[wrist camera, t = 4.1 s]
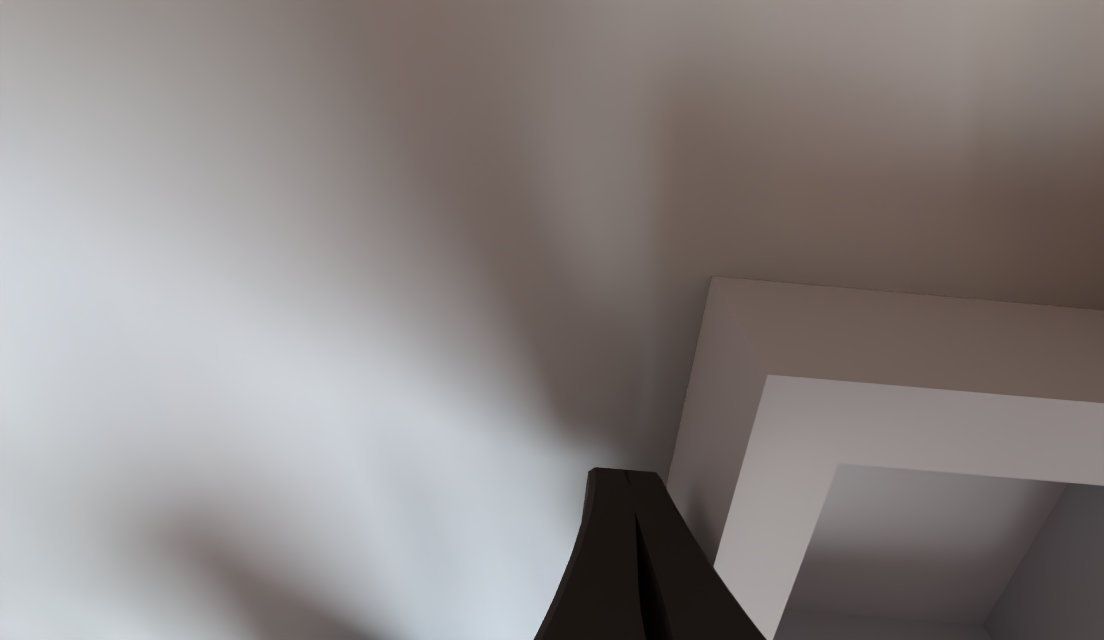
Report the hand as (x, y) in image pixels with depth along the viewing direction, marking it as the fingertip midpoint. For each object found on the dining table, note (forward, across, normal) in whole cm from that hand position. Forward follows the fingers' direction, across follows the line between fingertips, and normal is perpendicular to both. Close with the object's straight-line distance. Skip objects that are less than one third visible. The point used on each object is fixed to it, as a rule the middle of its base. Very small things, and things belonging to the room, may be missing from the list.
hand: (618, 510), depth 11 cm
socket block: (+2, -6, 0) cm, 6 cm away
